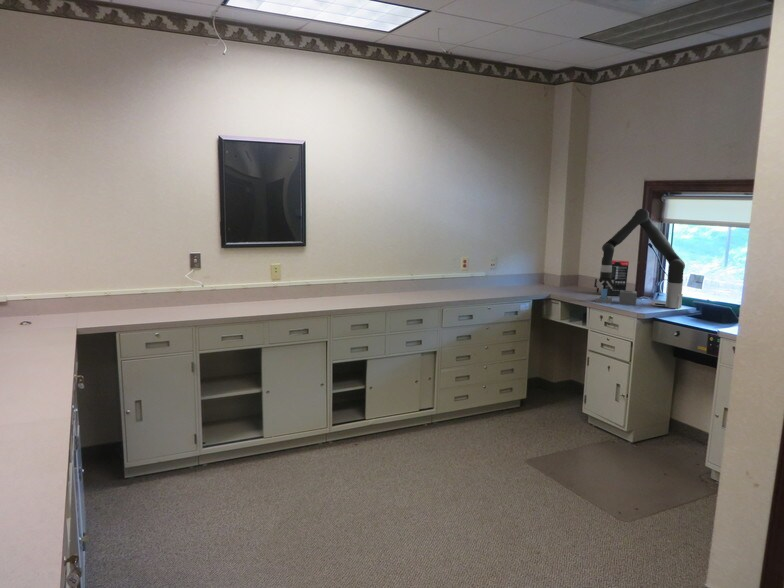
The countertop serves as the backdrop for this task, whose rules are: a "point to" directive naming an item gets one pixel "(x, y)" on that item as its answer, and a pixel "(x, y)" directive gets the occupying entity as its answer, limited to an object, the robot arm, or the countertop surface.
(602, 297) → the plug
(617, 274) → the graphics card box
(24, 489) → the countertop surface
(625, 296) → the jack block
